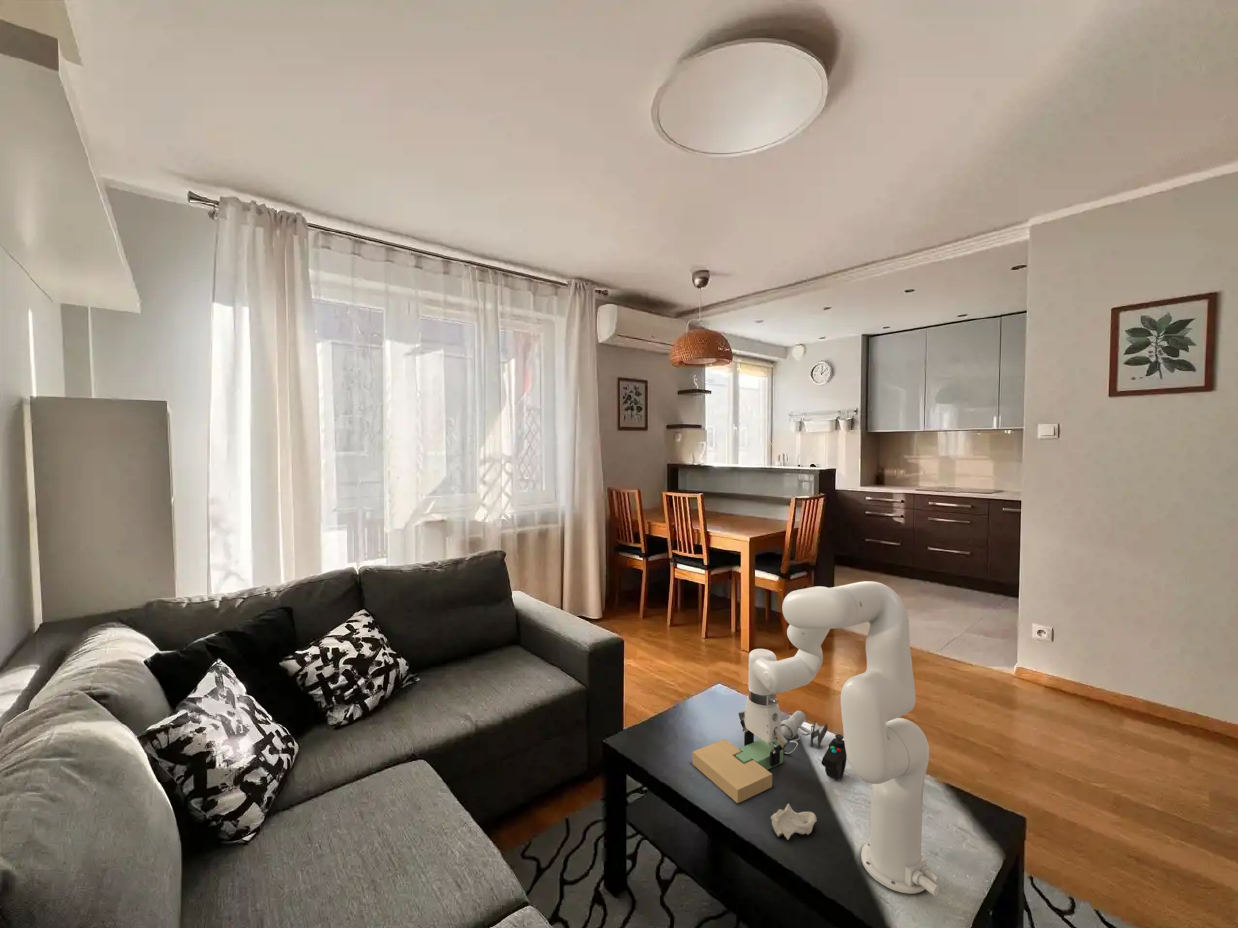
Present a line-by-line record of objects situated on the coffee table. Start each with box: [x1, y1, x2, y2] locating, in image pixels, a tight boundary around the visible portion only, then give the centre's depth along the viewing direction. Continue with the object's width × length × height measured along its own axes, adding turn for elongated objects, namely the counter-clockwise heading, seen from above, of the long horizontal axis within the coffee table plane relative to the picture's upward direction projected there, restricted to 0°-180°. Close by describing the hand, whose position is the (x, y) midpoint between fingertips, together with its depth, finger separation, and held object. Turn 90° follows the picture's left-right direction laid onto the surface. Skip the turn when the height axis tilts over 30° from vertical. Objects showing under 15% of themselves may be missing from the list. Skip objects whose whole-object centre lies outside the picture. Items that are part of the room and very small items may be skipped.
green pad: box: [735, 738, 784, 771], centre depth 143 cm, size 7×13×4 cm, turn 120°
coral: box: [770, 803, 818, 840], centre depth 119 cm, size 6×10×4 cm, turn 115°
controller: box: [820, 733, 848, 781], centre depth 137 cm, size 4×12×10 cm, turn 141°
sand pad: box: [691, 738, 773, 804], centre depth 138 cm, size 18×12×4 cm, turn 30°
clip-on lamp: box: [773, 710, 828, 755], centre depth 153 cm, size 12×6×18 cm
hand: (761, 755), depth 144 cm, fingers open, 9 cm apart
